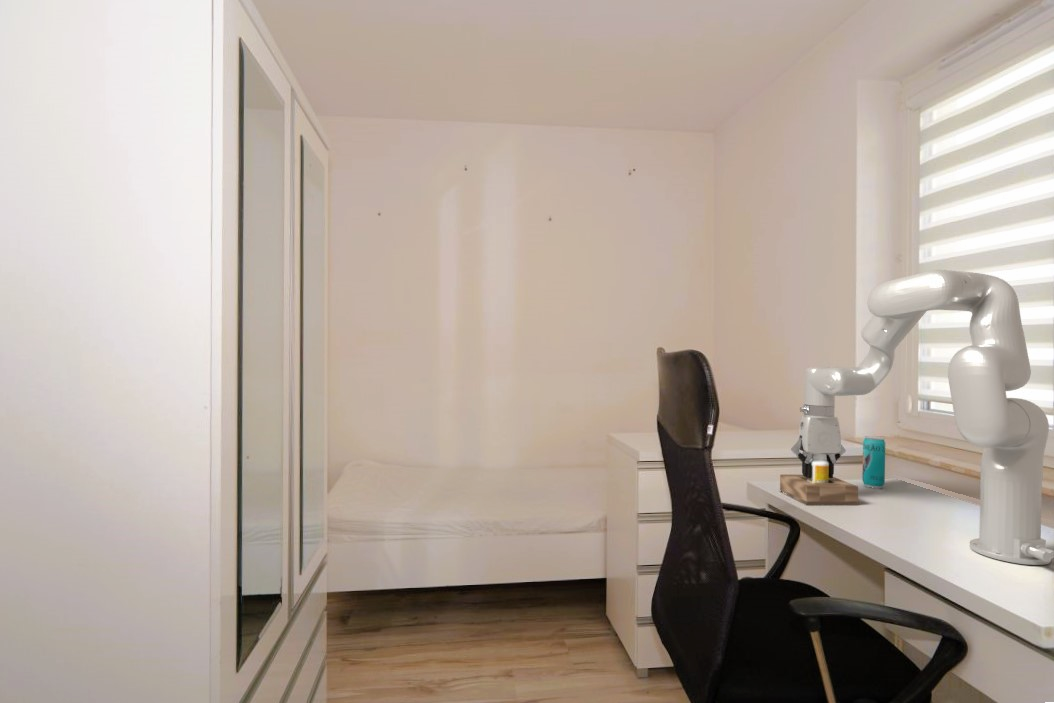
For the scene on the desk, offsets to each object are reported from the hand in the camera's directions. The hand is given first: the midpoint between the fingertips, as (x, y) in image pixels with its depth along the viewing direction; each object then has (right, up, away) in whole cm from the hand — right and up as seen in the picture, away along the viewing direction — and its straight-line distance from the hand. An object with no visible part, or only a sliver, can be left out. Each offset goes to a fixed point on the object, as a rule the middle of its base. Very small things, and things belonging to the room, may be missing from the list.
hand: (817, 476), depth 158 cm
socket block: (0, -6, 0) cm, 6 cm away
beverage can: (+24, -6, +14) cm, 29 cm away
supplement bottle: (0, -3, 0) cm, 3 cm away
